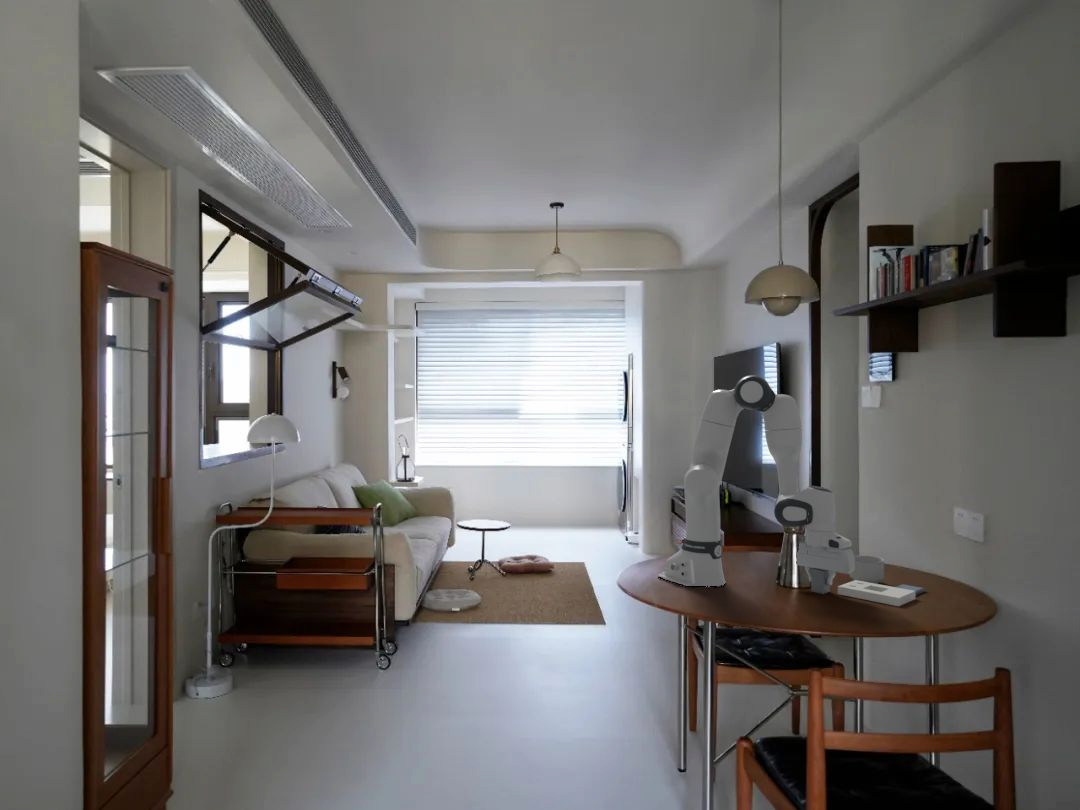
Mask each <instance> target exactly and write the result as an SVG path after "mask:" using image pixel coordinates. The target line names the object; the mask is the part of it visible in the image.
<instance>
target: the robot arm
mask: <svg viewBox="0 0 1080 810" xmlns="http://www.w3.org/2000/svg"><path fill="white" fill-rule="evenodd" d="M743 410H750V411H751V410H752V411H757V412H759V413H761V415H762V417H763V423H764V433H765V440H766V444H767V448H768V451H769V453H770V455H771V457H772V458H773V460H774V462H775V465H776V470H777V481H778V482H777V483H778V495H777V497H776V499H775V503H774V510H773V511H774V517H775V520H776V521H777V522H778V523H779V524H780V525H782V526H784V527H786V528H796V527H803V526H804V528H805V529H804V530H805V531H804V532H805V535H801V536H802V542H799V543H800V544H799V547H798V548H799V550H798V552H796V553H797V554H796V558H797V561H796V564H798V565H797V566H800V567H801V566H802V567H804V571H805V572H806V574H807V576H808V581H809V583H810V582H811V569H813V568H817V569H822V570H828V571H829V574H830V576H829V578H827V579H825V581H826V582H825V584H826V585H830V586H832V585H833V583H834V582H833V581H834V578H835V576H836V575H837V573H840V574H845V575H846V574H847V575H850V574H849V573H852V572H853V571H854V570H855V561H854V555H855V554H854V551H853V549H852V548H851V547H852V545H853V541H852V540H850V539H849V538H847V537H845V536H842V535H841V534H839V533H837V531H836V530H837V529H836V526H835V519H836V514H837V513H836V500H835V499H836V498H835V495H834V493H833V492H832V491H831V490H830V489H829V488H826V487H823V486H817V485H809V486H808V487H806V488H805V489H803V490H800V484H799V482H800V481H799V475H798V473H799V472H798V462H799V456H800V453H801V450H802V443H803V442H802V440H803V430H802V421H801V415H800V412H799V407H798V405H797V401H796V400H795V397H793V396H791V395H788V394H783V393H780V394H778V393H777V394H776V393H775V392H774V390H773V389H772V387H771V386H770V384H769V382H768V381H767V380H766V379H765V378H763V377H762V376H759V375H756V374H750V375H746V376H743V377H742V378H741V379H739V380H738V381H737V383H736V385H735V386H734V388H733V389H730V390H729V389H728V390H727V389H716V390H715V389H714V390H713V391H711V393H710V394H709V396H708V398H707V400H706V402H705V405H704V407H703V409H702V413H701V418H700V421H699V425H698V429H697V432H696V437H695V441H694V445H693V452H692V455H691V462H690V465H689V468H688V470H687V472H686V473H685V475H684V478H683V486H684V487H683V490H684V494H683V495H684V506H685V507H684V508H685V538H683V539H680V540H678V541H679V543H678V544H679V545H681V548H680V549H679V550H678V551H676V552H675V553H674V554H673V555H671V556H670V557H668V558H667V559H666V562H665V567H664V571H662V572H660V573H658V574H657V577H658V576H660V577H663V578H666V579H669V580H671V581H674V582H677V583H679V584H683V585H686V586H706V587H705V588H711V587H710V586H717V587H721V585H722V586H724V584H725V583H727V582H726V580H725V575H724V571H723V564H722V553H723V552H722V551H723V545H722V544H723V542H722V541H723V540H722V539H721V508H720V507H721V506H720V504H721V502H720V487H721V484H722V480H723V476H724V472H725V467H726V464H727V458H728V455H729V450H730V446H731V443H732V439H733V435H734V431H735V427H736V424H737V423H736V422H737V419H738V417H739V415H740V412H742V411H743ZM807 509H808V510H807ZM781 512H782V513H781ZM808 512H809V515H808ZM781 514H782V516H781ZM782 517H783V521H782ZM807 518H808V522H807ZM806 526H807V531H806ZM803 536H804V542H803ZM806 542H807V548H806ZM807 550H808V554H807ZM725 585H726V584H725ZM707 586H708V587H707Z"/></svg>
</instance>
